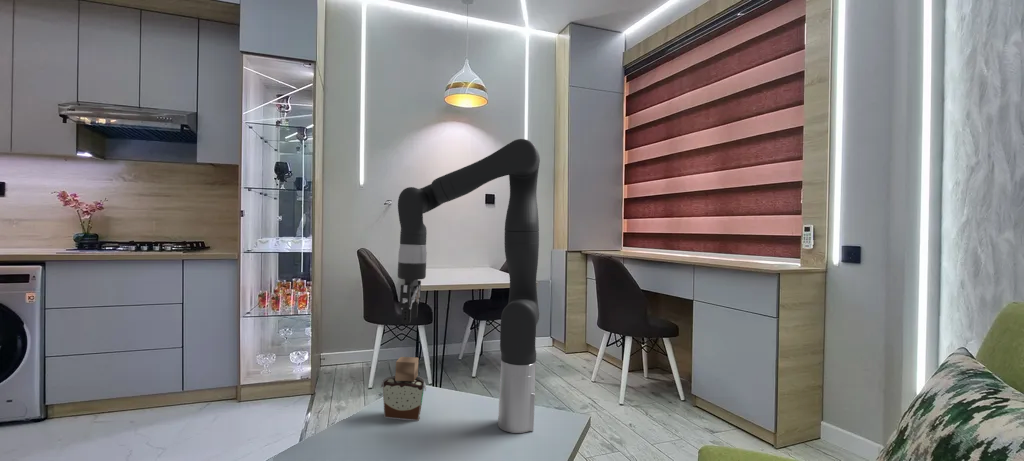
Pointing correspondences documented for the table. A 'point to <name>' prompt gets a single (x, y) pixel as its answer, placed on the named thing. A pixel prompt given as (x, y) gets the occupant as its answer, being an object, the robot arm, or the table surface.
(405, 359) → the walnut cube
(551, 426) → the table surface
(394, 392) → the food container
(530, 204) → the robot arm
